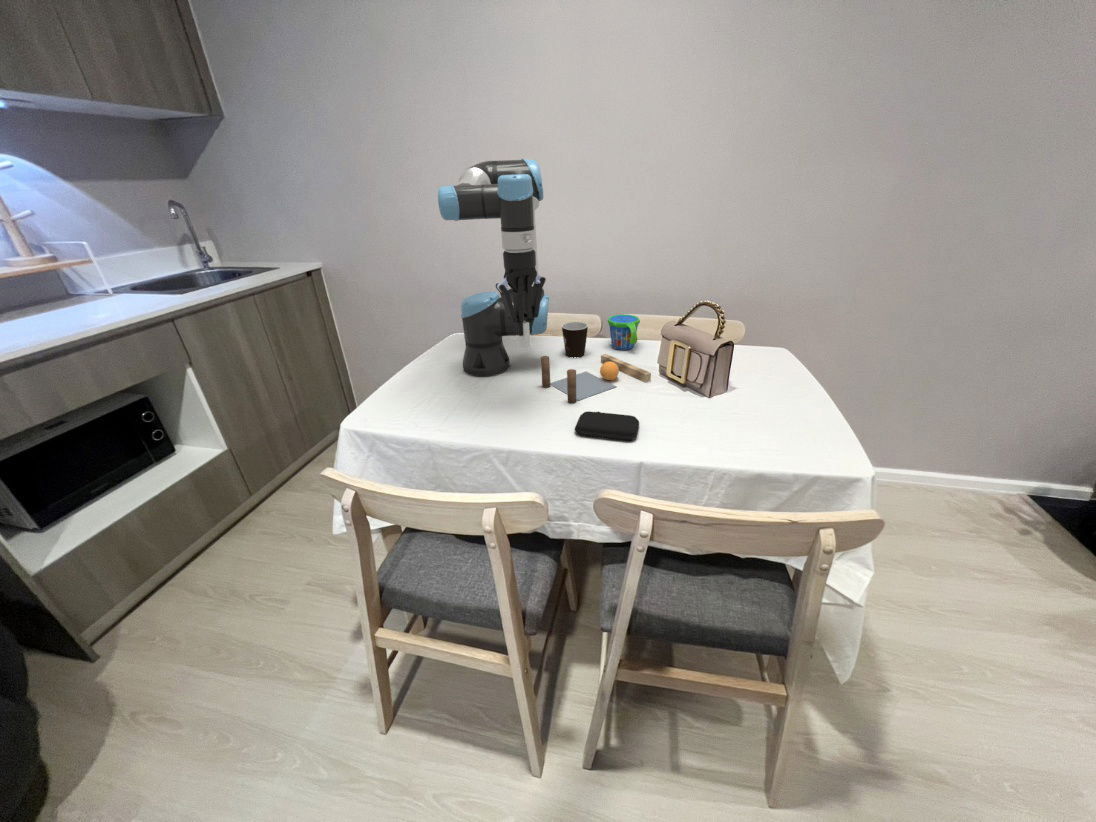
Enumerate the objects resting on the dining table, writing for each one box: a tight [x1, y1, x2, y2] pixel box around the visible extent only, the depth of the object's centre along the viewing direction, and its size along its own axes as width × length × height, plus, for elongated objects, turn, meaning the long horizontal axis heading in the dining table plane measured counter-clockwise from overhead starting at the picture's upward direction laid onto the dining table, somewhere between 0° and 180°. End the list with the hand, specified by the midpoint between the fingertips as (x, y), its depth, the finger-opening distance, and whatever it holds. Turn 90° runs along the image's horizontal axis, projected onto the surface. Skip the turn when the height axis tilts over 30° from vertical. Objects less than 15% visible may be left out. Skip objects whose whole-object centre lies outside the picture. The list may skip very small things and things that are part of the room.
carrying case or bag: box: [574, 410, 640, 442], centre depth 111 cm, size 11×3×15 cm
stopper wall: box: [600, 353, 652, 383], centre depth 141 cm, size 20×2×2 cm, turn 35°
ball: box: [599, 362, 620, 381], centre depth 135 cm, size 6×6×6 cm
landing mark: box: [550, 371, 617, 402], centre depth 134 cm, size 14×14×1 cm
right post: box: [566, 368, 577, 404], centre depth 123 cm, size 2×2×9 cm
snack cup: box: [607, 313, 641, 351], centre depth 158 cm, size 16×10×10 cm
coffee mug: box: [561, 321, 589, 359], centre depth 155 cm, size 12×9×10 cm
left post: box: [540, 355, 551, 389], centre depth 132 cm, size 2×2×9 cm
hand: (525, 346), depth 117 cm, fingers closed
